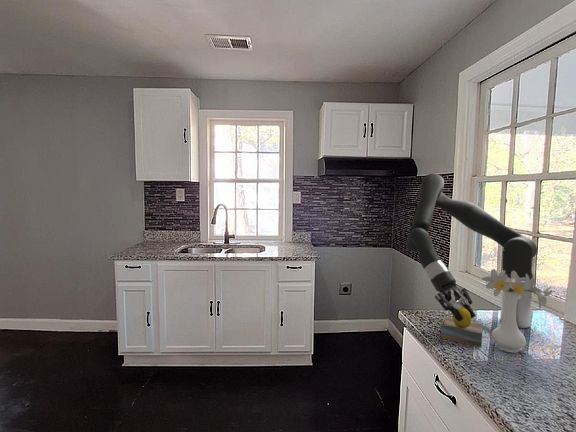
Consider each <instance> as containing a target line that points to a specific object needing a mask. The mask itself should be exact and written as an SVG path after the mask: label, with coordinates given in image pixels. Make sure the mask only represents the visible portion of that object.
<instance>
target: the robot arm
mask: <svg viewBox="0 0 576 432" xmlns="http://www.w3.org/2000/svg"><path fill="white" fill-rule="evenodd" d="M444 186H445V180H444V178H443V177H442V175H440V174H437V173H429V174H427V175H425V176H424V177H423V179H422V181H421V185H420V189H419V195H420V200H419V201H418V205H417V208H416V210H415V214H414V216H413V219H412V225H411V228H410V229H409V233H408V235H407V238H406V239H405V240H406V241H405V245H406V248H407V249H408V250H409V251H411V252H412V253H418V261H419V262H420V265H421V266H422V268H423V269H424V273H425V274H426V276H427V278H428V279H429V281H430V283H431V284H432V286H433V287H434V289H435V291H436V292H438V293H437V294H434V295H435V296H434V298H435V299H436V301H438V303H439V304H440V306H441V307H442V308H443V310H444V311H449V312H451V314H452V316H453V315H454V317H455V318H456V319H457V321H461V320H463V316H462V315H461V313H460V312H459V310H458V308H457V305H459V306H461V307H464V308H465V309H467V310H468V311H469V313H470V315H471V319H474V318H475V317H476V314H475V312H474V311H473V310H474V309H472V307H471V305H472V304H473V301H472V299H471V297H470V294H469V292H468V290H467V289H466V288H465V287H464V288H462V289H461V288H459V287H458V286H457V285H456V284H457V281H456V279H455V278H454V276H453V274H452V273H451V272H450V270H449V269H448V267H447V265H446V264H445V263H444V262H443V260H442V259H441V258H440V256H439V254H438V253H437V252H436V248H435V245H434V244H433V240H432V238H431V236H430V234H429V233H428V232H429V231H430V228H431V226H432V225H431V224H432V221H433V217H434V212H435V207H438V209H439V208H440V210H443V211H444V212H445V213H447V214H449V215H450V216H451V217H453V218H454V219H456V220H457V221H458V222H459V223H461V224H462V225H464V226H465V227H466V228H469V229H470V230H471V231H473V232H475V233H478V234H480V235H481V236H483V237H486V238H489V239H491V240H492V241H494V242H495V243H497V244H498V245H500V246H501V247H503V248H502V260H501V262H502V264H501V270H502V271H504V270H505V271H506V272H505V274H506V275H507V276H508V278H510V279H511V272H512V271H515V272H516V273H517V275H518V276H519V277H520V278H523V277H525V278H526V274H527V275H528V276H529V281H530V280H531V279H532V278H534V275H533V273H532V272H533V271H532V266H533V265H532V264H533V258H535V256H536V255H537V252H538V248H537V245H536V243H535V242H534V241H533V240H532V239H531V238H529V237H527V236H525V235H523V234H521V233H519V232H517V231H516V230H515V229H512V228H510V227H508V226H507V225H506V224H504V223H503V222H501V221H500V220H499V219H497V218H496V217H494V216H493V215H492V214H490V213H489V212H487V211H486V210H485V209H483V208H482V207H480V206H479V205H477V204H475V203H473V202H470V201H465V200H457V199H453V198H451V197H449V196H448V195H446V194H445V193H444V192H443V190H444ZM505 274H504V275H505ZM527 290H528V289H527ZM527 292H528V293H530V295H531V296H532V297H533V293H532V292H529V291H527ZM456 304H457V305H456ZM500 304H501V306H500V317H499V319H500V322H501V323H502V321H503V318H504V312H505V294H504V292H503V290H501V303H500ZM531 308H532V299H528V298H526V297H525V296H523V295H521V299H518V300H517V304H516V323H517V326H518V329H527V328H529V327H530V321H531Z"/></svg>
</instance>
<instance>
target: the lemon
mask: <svg viewBox="0 0 576 432" xmlns="http://www.w3.org/2000/svg"><path fill="white" fill-rule="evenodd" d="M457 309H458V310H459V312H460V313H461V315H462V316H463V320H461V321H457V319H456V318H455V317H454V315H453V314H452V318H453V321H454V323H455V325H456V326H457V327H459V328H463V329H464V328H467V327H468V326H469V325H470V323H471V321H472V318H471V315H470V313H469V311H468V310H467V309H465V308H464V307H462V306H461V307H458V308H457Z"/></svg>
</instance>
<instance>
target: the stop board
mask: <svg viewBox="0 0 576 432" xmlns="http://www.w3.org/2000/svg"><path fill="white" fill-rule="evenodd" d="M482 328H483V327H482V323H481V322H476V321H472V320H471V323H470V325H469V326H468V327H467V328H464V329H463V328H459V327H457V326H456V325H455V323H454V321H453V317H450V316H445V319H444V322H443V324H441V330H440V331H441V332H440V339H443V340H448V341H453V342H457V343H461V344H466V345H471V346H476V347H479V348H481V347H482V343H483V340H482V339H483V332H482V331H483V330H482Z"/></svg>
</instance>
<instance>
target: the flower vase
mask: <svg viewBox="0 0 576 432" xmlns="http://www.w3.org/2000/svg"><path fill="white" fill-rule="evenodd" d="M505 272H506V271H505V270H504V271H503V270H502V271H500V272H499V273H498V271H497V270H496V269H494V268H492V269H491V270H490V276H484V277H482V281H485V282H488V283H485V288H486V289H489V290H493V289H494V290H493V296H494V297H498V296H499V295H500V293H502V290H503V292H504V294H505V312H504V318H503V321H502V322H501V323H500V325H499V326H497V327H496V328H494V329H493V330H492V332H491V339H492V340H493V342H494V343H495V344H496V347H497V348H498V349H499V350H501V351H503V352H507V353H510V352H511V353H513V354H516V353H519V352H520V349H523V348H525V346H526V345H527V339H526V337H525V336H524V333H522V332H521V331H520V328H518V326H517V323H516V304H517V300H518V299H521V295H523V296H525V297H526V298H528V299H531V300H532V299H533V295H532V296H531V295H530V293H528V292H527V291H529V292H532V294H534V295H536V296H537V299H538V307H539V308H538V309H539V310H541V307H542V305H543V306H546V305H547V301H548V300H547V297H549V296H550V295H551V294H552V293H553V289H551V288H552V286H551V285H550V286H549V287H547V288H546V289H545V288H544V290H542V289H540V288H539V287H537V286H536V284H537V279H536V278H535V277H533V278H532V279H531V280H530V281H529V276H528V275H527V274H526V278H525V277H523V278H520V277H519V276H518V275H517V273H516V272H515V271H512V272H511V279H510V278H508V276H507V275H506V274H505ZM504 274H505V275H504ZM527 289H528V290H527ZM550 289H551V290H550ZM511 353H510V354H511Z"/></svg>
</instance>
